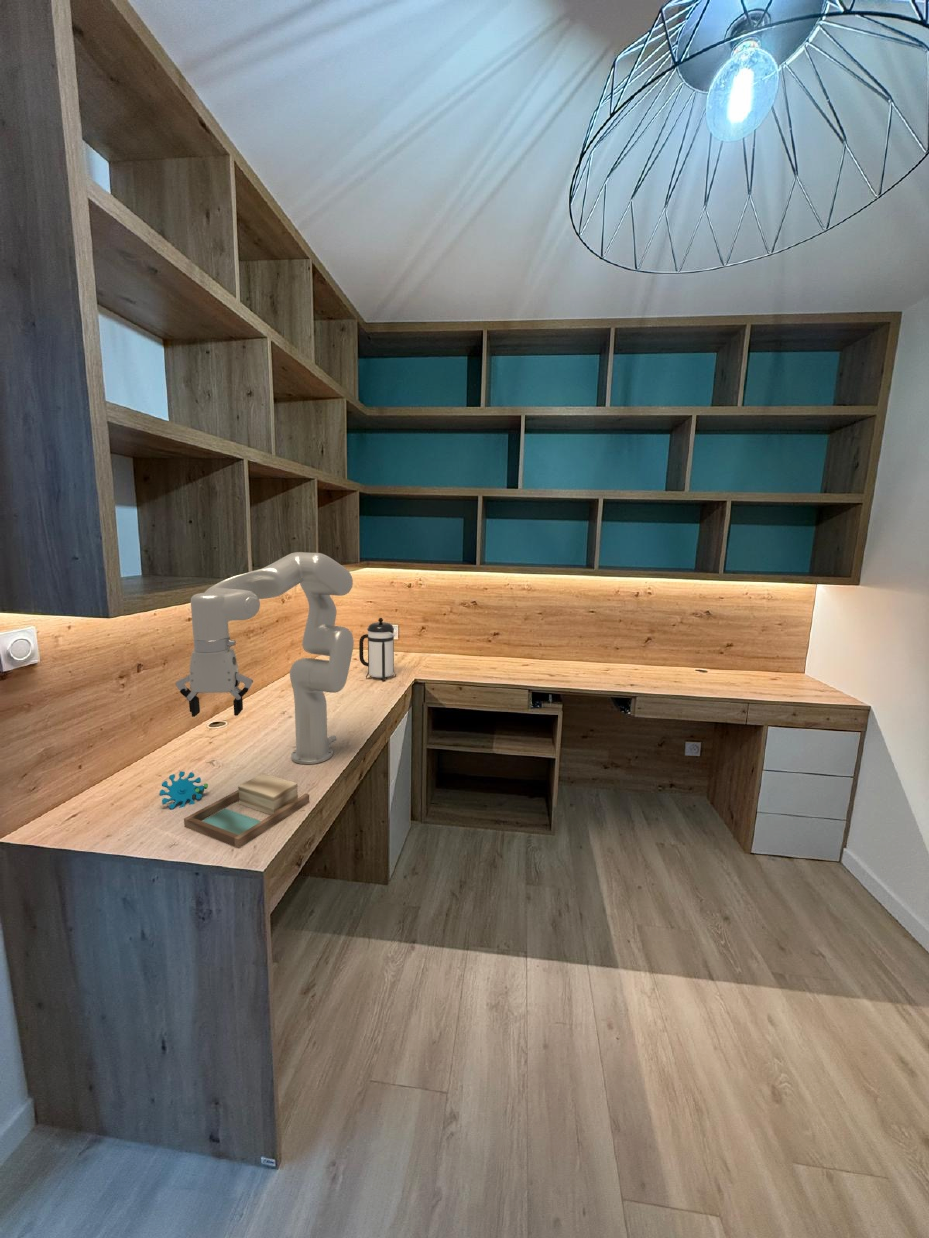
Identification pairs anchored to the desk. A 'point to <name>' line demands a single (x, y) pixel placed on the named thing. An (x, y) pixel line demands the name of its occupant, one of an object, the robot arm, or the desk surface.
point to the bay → (236, 820)
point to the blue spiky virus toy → (182, 790)
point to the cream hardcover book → (267, 793)
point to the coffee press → (379, 650)
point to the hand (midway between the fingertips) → (217, 714)
